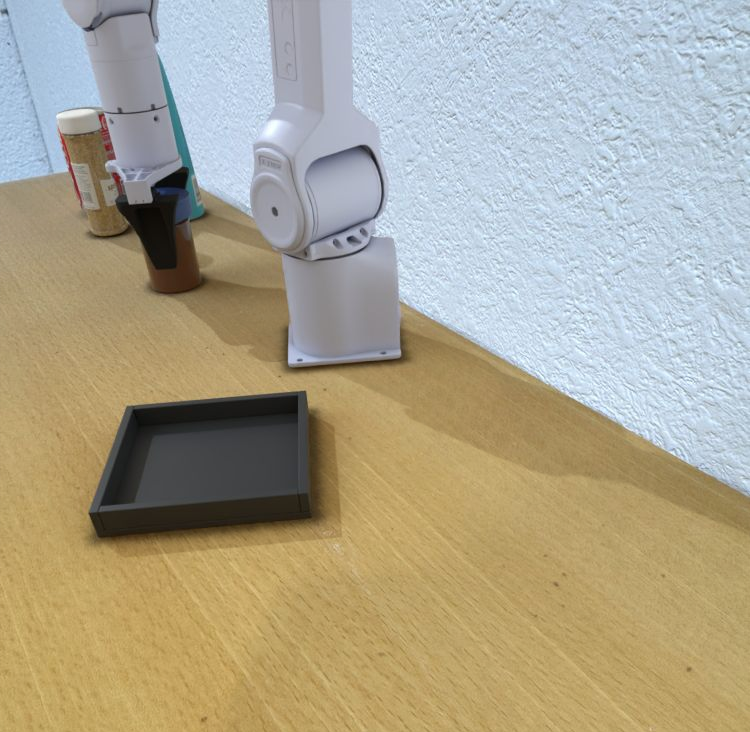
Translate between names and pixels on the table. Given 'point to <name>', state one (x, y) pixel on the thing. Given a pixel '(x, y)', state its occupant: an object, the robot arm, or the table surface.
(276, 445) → the tray
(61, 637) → the table surface
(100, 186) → the sprinkles bottle
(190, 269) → the jar
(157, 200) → the robot arm
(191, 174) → the tube
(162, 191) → the lid
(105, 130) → the seasoning shaker
